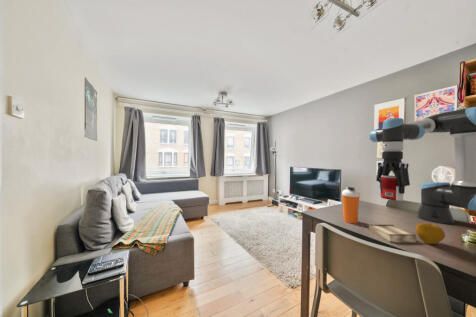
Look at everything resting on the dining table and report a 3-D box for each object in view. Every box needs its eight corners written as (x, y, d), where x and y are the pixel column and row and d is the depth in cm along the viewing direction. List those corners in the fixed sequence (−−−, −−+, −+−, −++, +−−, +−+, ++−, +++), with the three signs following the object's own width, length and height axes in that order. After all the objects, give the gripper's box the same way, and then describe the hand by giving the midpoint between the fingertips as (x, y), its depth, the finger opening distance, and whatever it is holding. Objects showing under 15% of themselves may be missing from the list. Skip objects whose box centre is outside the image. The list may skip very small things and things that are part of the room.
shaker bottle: (343, 222, 100) (343, 188, 100) (340, 217, 109) (340, 186, 108) (361, 225, 97) (362, 189, 97) (357, 219, 105) (357, 187, 105)
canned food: (406, 201, 79) (407, 177, 79) (386, 200, 81) (387, 176, 81) (395, 197, 87) (395, 175, 87) (377, 196, 88) (377, 174, 88)
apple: (439, 250, 71) (439, 228, 71) (410, 240, 80) (411, 221, 79) (448, 246, 75) (449, 225, 75) (420, 237, 83) (420, 218, 83)
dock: (391, 230, 90) (391, 224, 90) (415, 242, 78) (416, 234, 78) (369, 230, 90) (369, 224, 90) (390, 242, 78) (390, 235, 78)
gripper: (368, 151, 94) (367, 193, 94) (405, 150, 73) (404, 203, 73) (381, 151, 94) (380, 193, 94) (423, 150, 73) (421, 204, 73)
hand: (391, 198), depth 84 cm, fingers closed on canned food, 8 cm apart
